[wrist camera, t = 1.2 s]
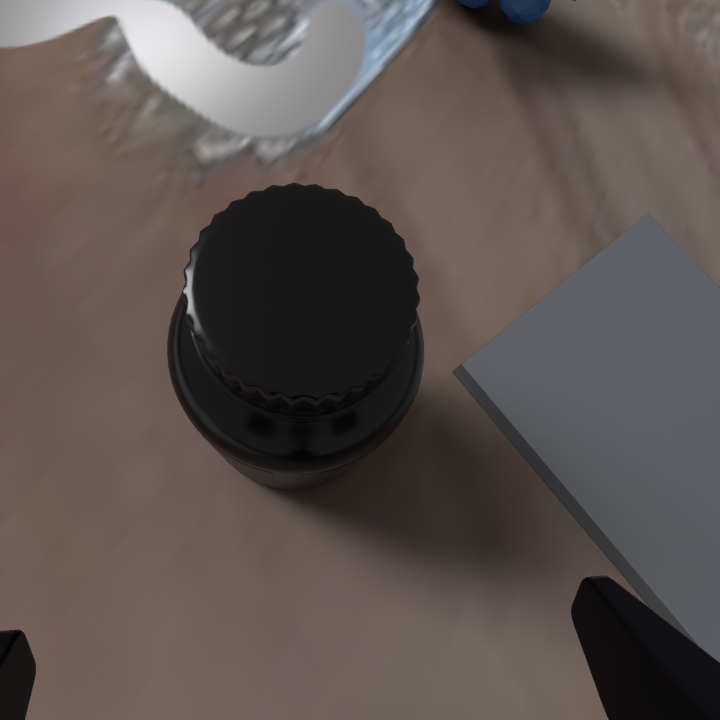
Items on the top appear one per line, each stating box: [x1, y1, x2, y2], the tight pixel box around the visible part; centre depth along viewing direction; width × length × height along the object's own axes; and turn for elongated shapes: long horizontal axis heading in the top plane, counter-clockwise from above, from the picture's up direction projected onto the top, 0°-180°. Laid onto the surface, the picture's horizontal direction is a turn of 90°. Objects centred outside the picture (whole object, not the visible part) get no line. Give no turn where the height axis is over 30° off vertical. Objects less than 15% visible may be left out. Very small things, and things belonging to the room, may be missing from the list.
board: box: [453, 213, 720, 662], centre depth 23 cm, size 18×13×1 cm
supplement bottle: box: [167, 183, 424, 490], centre depth 16 cm, size 7×7×12 cm
